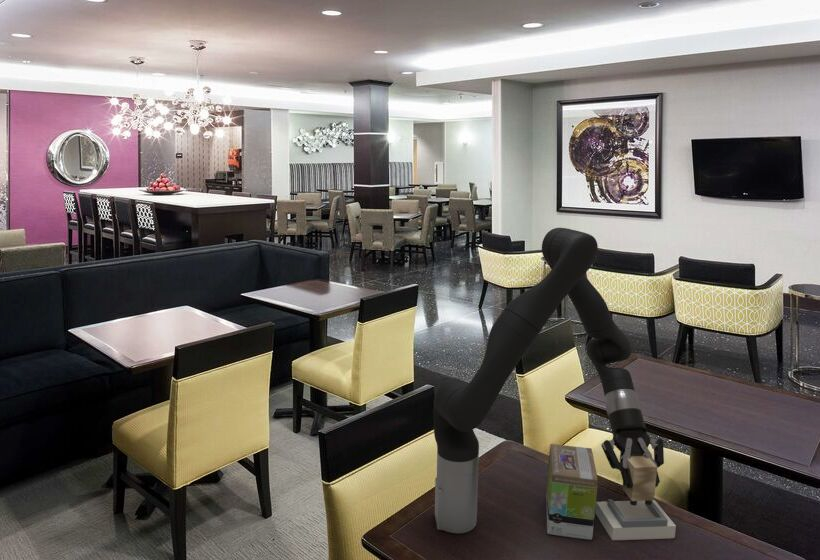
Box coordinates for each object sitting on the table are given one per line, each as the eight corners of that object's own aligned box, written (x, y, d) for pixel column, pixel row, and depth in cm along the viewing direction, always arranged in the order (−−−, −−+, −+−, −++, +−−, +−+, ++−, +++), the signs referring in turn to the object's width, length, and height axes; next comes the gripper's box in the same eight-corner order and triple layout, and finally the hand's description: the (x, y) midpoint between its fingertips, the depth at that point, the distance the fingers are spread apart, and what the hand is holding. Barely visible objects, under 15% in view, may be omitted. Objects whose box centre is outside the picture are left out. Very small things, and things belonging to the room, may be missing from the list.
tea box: (594, 541, 129) (598, 479, 126) (546, 535, 131) (550, 474, 128) (588, 502, 144) (592, 446, 141) (545, 497, 146) (548, 442, 143)
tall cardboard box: (631, 505, 130) (634, 467, 128) (622, 493, 135) (625, 456, 133) (653, 505, 131) (657, 466, 129) (643, 492, 136) (646, 455, 134)
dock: (612, 540, 129) (613, 521, 129) (595, 513, 139) (596, 495, 138) (674, 538, 130) (676, 519, 129) (653, 511, 140) (655, 494, 139)
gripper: (599, 407, 136) (616, 483, 127) (660, 405, 137) (682, 481, 128) (589, 418, 142) (605, 492, 133) (648, 417, 143) (667, 490, 134)
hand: (642, 486), depth 130 cm, fingers closed on tall cardboard box, 5 cm apart
